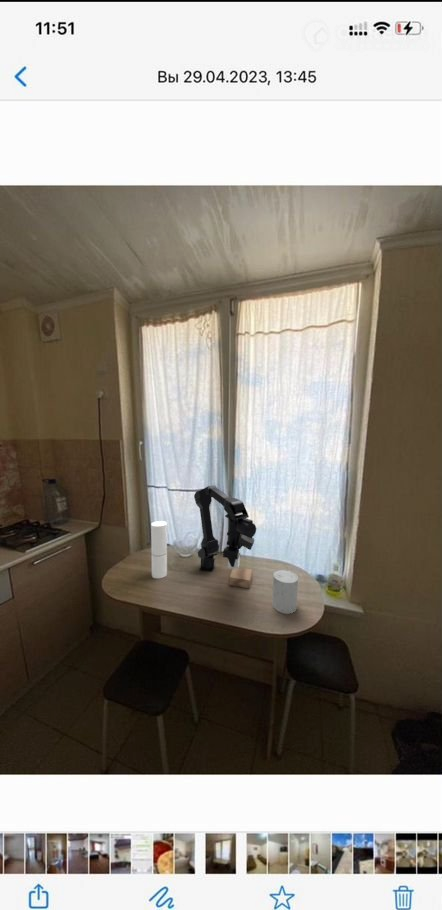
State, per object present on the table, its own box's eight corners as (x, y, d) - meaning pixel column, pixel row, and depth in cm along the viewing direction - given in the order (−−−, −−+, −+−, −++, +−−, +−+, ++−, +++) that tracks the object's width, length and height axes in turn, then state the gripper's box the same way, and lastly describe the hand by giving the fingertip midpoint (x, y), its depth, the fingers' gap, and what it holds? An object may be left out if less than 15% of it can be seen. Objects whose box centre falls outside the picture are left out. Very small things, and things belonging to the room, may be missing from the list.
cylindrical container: (168, 570, 123) (168, 521, 121) (164, 579, 116) (163, 526, 114) (154, 569, 123) (154, 520, 121) (149, 577, 116) (148, 525, 114)
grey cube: (227, 568, 107) (227, 556, 107) (229, 562, 112) (229, 552, 111) (237, 569, 106) (238, 558, 106) (239, 564, 111) (240, 553, 110)
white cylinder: (278, 594, 106) (279, 566, 105) (300, 604, 100) (302, 574, 99) (267, 606, 98) (268, 576, 97) (290, 617, 92) (292, 586, 91)
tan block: (229, 585, 112) (229, 577, 112) (233, 574, 121) (233, 566, 120) (249, 589, 110) (249, 580, 109) (252, 577, 118) (252, 569, 118)
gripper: (250, 540, 97) (249, 578, 98) (255, 523, 115) (254, 556, 116) (222, 537, 99) (222, 574, 101) (231, 521, 117) (230, 553, 119)
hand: (233, 563), depth 109 cm, fingers closed on grey cube, 4 cm apart
